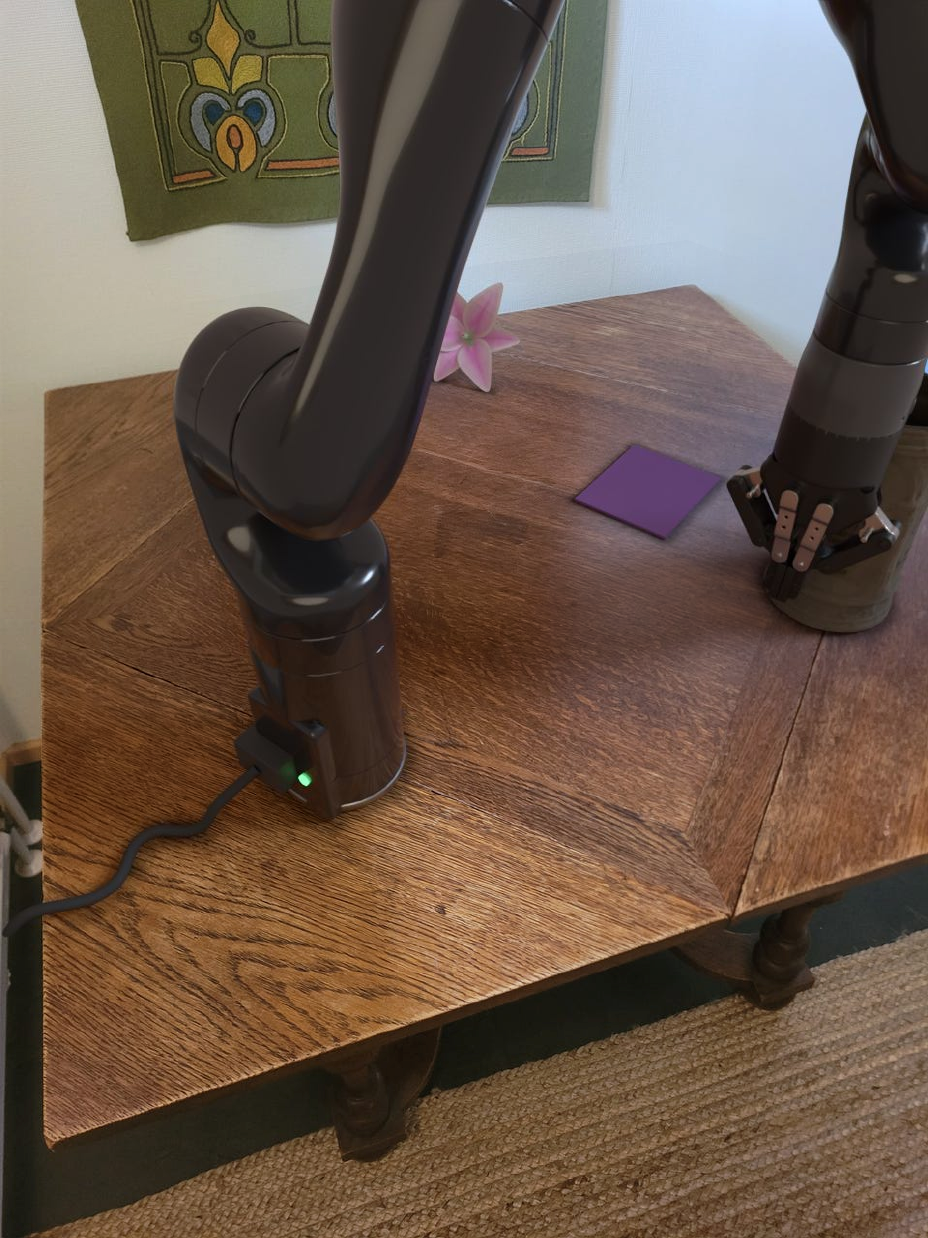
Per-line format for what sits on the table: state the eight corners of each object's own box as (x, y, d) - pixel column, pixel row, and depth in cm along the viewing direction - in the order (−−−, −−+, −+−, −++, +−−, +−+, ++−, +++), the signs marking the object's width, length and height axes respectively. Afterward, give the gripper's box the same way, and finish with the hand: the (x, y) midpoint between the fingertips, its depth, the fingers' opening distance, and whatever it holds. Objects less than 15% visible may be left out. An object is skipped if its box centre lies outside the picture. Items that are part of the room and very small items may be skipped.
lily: (400, 367, 108) (392, 321, 98) (464, 304, 110) (461, 253, 100) (474, 425, 105) (472, 382, 96) (537, 359, 107) (541, 311, 98)
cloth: (664, 539, 82) (665, 537, 82) (574, 500, 87) (574, 498, 86) (720, 479, 89) (720, 477, 89) (633, 446, 94) (634, 444, 93)
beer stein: (887, 654, 72) (990, 437, 59) (754, 621, 74) (824, 406, 61) (888, 551, 83) (975, 349, 70) (772, 525, 85) (835, 326, 72)
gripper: (731, 394, 59) (684, 586, 71) (935, 462, 53) (845, 658, 65) (775, 351, 63) (723, 539, 75) (967, 410, 57) (878, 603, 69)
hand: (780, 594), depth 70 cm, fingers closed
